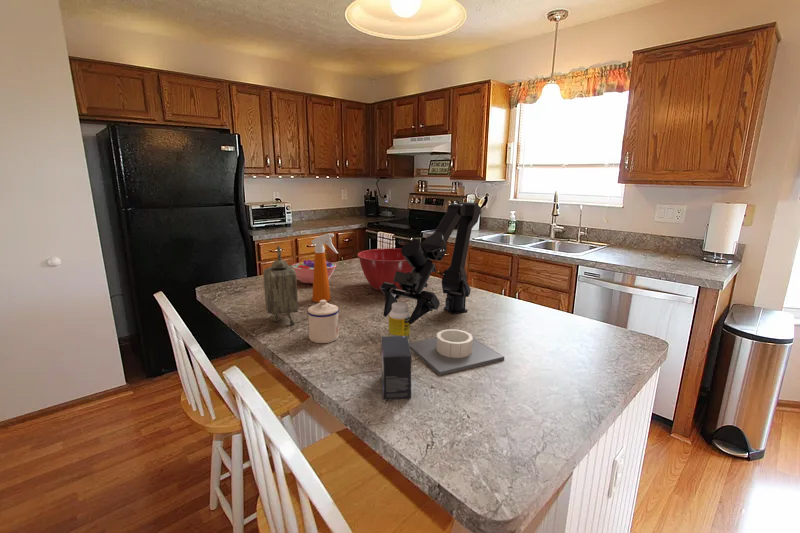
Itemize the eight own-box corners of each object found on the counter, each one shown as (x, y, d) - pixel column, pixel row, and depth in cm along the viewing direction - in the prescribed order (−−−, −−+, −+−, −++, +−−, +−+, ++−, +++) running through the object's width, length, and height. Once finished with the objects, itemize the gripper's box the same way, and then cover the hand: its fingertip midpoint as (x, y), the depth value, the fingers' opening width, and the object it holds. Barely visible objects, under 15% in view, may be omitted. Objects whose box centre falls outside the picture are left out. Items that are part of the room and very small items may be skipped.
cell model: (294, 278, 180) (293, 254, 177) (337, 277, 182) (337, 254, 180) (288, 288, 164) (287, 262, 161) (335, 287, 166) (335, 262, 163)
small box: (380, 375, 93) (380, 335, 90) (407, 374, 93) (407, 334, 91) (382, 400, 83) (382, 355, 80) (412, 399, 83) (413, 354, 81)
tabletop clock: (299, 326, 122) (295, 249, 117) (269, 330, 119) (263, 251, 113) (293, 311, 135) (289, 242, 130) (266, 314, 132) (261, 243, 126)
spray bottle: (336, 304, 144) (334, 234, 138) (309, 302, 146) (306, 233, 140) (342, 298, 151) (340, 232, 145) (316, 296, 153) (313, 231, 147)
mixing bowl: (350, 283, 173) (349, 249, 169) (407, 277, 184) (408, 245, 180) (370, 301, 147) (370, 262, 144) (435, 294, 158) (436, 257, 155)
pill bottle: (407, 345, 110) (408, 308, 107) (386, 343, 111) (386, 307, 108) (411, 336, 116) (412, 302, 113) (391, 334, 117) (391, 300, 114)
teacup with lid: (344, 339, 113) (343, 302, 110) (314, 346, 108) (313, 307, 105) (328, 326, 123) (327, 291, 120) (301, 332, 118) (299, 296, 115)
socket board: (464, 335, 117) (465, 319, 116) (504, 359, 102) (505, 342, 100) (406, 346, 109) (407, 330, 108) (439, 375, 93) (440, 356, 92)
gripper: (384, 256, 116) (359, 299, 110) (435, 265, 105) (411, 313, 99) (399, 276, 124) (377, 317, 118) (449, 286, 113) (427, 332, 107)
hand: (396, 319), depth 111 cm, fingers open, 9 cm apart
